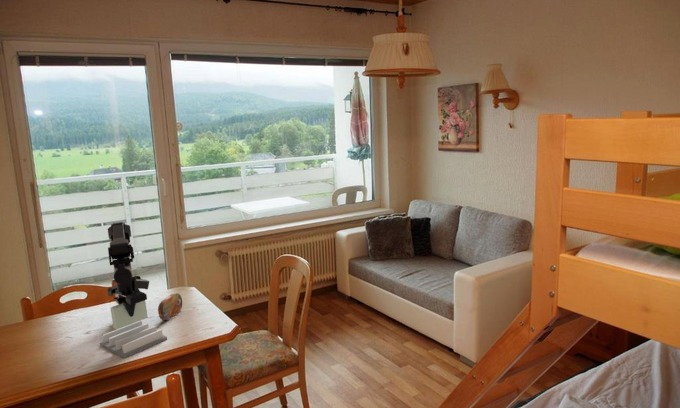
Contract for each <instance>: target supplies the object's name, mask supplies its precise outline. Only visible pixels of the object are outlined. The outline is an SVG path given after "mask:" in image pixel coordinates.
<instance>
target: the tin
mask: <svg viewBox="0 0 680 408" xmlns="http://www.w3.org/2000/svg"><path fill="white" fill-rule="evenodd" d="M182 308H183V298H182V296H181V295H180V293H171V294H170V295H168V296H167V297H166V298H164V299H162V300H161V301H160V302H159V304H158V308H157V312H158V317H159V319H160V320H162V321H170V320H171V319H172V318H174V317H175V316H176V315H178V314H179V313H180V312H181V310H182Z"/></svg>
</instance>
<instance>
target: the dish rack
mask: <svg viewBox="0 0 680 408" xmlns="http://www.w3.org/2000/svg"><path fill="white" fill-rule="evenodd" d="M167 340H168V337H167V336H166V335H164V333H163V329H161V328H160V329H157V330H156V326H155V325H152V326H151V327H149V323H147V322H146V323H144V324H143V320H140V321H138V322H135V323H132V324H130V325H127V326H125V327H122V328H120V329H115V330H112V331H109V332H106V333H104V334H102V341H100V342H99V345H100V347H102V348H104V349H106V350H108V351H110V352H112V353H113V354H115V355H116V356H118V357H120V358H122V359H126V358H128V357H130V356H133V355H134V354H137V353H138V352H141V351H144V350H145V349H148V348H150V347H153V346H155V345H158V344H159V343H162V342H163V341H167Z"/></svg>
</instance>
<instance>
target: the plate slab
mask: <svg viewBox="0 0 680 408" xmlns="http://www.w3.org/2000/svg"><path fill="white" fill-rule="evenodd" d="M110 314H111V319H112V321H111V322H112V326H113V329H115V330H116V329H120V328H122V327H125V326H127V325H130V324H132V323H135V322H138V321H140V320H141V321H143V320H145V319H148V318H149V317H148V311H147V303H146V300H145V301H142V302H139V303H136V305H135V310H134V315H133V316H132V317H130V316H129V314H128V312H127V310H126V308H125V307H124V305H123V303H122V304H117V305H113V306H111V307H110Z"/></svg>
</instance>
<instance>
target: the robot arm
mask: <svg viewBox="0 0 680 408" xmlns="http://www.w3.org/2000/svg"><path fill="white" fill-rule="evenodd" d="M107 234H108V238H109V239H108V240H109V241H110V242H109V247H107V252H108V261H109V266H113V282H114V283H115V285H112V286H109V287H108V289H107V290H106V292H107V296H109V297H113V296H115V297H113V300H114V301H115V302H116V303H117V305H119V304H122V303H123V305H124V307H125V308H126V310H127V312H128V314H129V316H130V317H132V316H133V315H134V310H135V305H136V303H139V302H142V301H145V302H146V300H148V295H147V293H145V292H143V291H141V290H149V285H150V280H147V279H143V278H142V277H141V275H134V276H133V270H132V264H131V263H133V262H134V259H135V253H134V247H133V245H132V244H131V243H130V242H131V237H132V230H131V225H129V224H126V223H125V222H122V221H121V222H120V221H119V222H113V223H112V224H110V226H109V227H108V228H107ZM140 289H141V290H140Z"/></svg>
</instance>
